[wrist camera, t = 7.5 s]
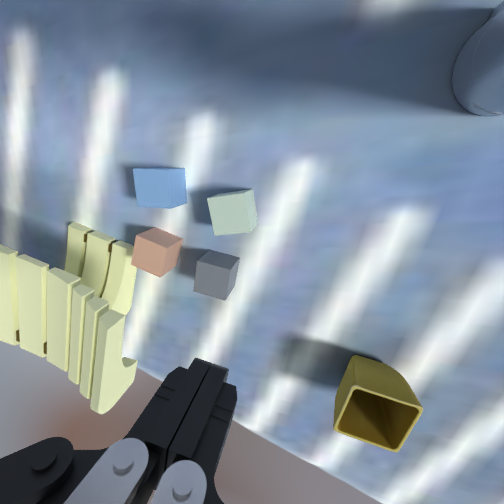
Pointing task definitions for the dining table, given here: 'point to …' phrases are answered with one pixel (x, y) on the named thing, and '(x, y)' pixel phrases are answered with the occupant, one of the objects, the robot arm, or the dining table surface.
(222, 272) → the charcoal block
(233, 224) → the sage block
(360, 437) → the flower pot
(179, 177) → the blue block
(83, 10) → the dining table surface
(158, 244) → the terracotta block
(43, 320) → the slatted curved stool
